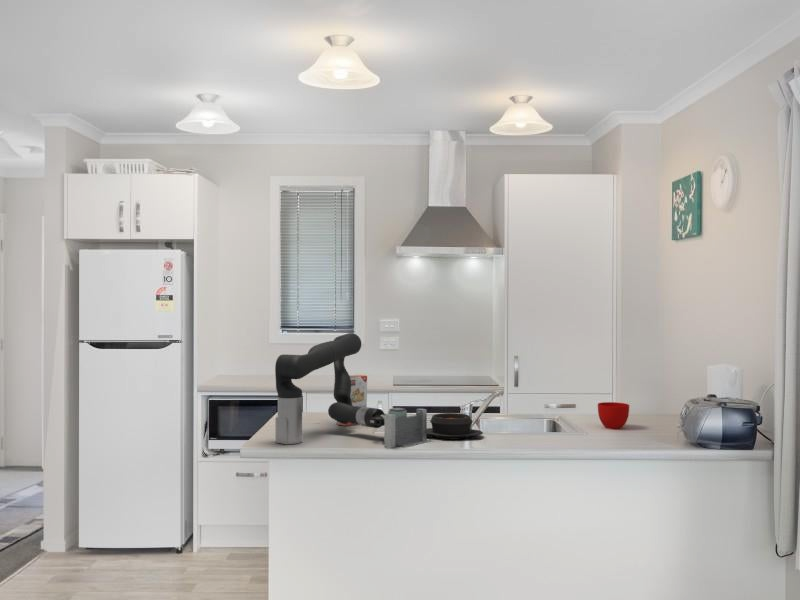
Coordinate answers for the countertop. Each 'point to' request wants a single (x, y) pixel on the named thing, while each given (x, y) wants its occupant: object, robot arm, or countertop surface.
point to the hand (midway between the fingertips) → (401, 421)
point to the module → (398, 412)
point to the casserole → (452, 426)
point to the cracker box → (358, 392)
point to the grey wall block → (405, 429)
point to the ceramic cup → (613, 414)
